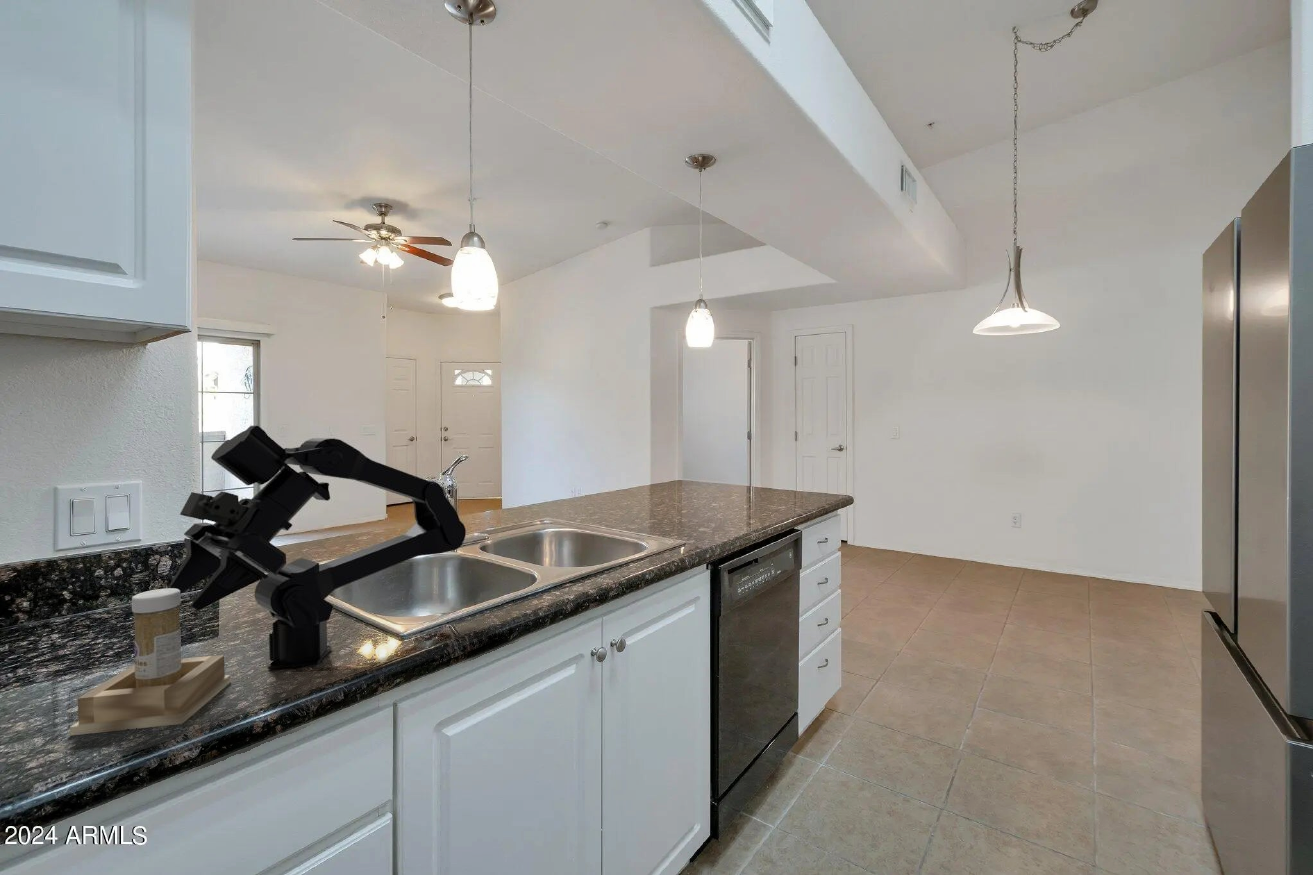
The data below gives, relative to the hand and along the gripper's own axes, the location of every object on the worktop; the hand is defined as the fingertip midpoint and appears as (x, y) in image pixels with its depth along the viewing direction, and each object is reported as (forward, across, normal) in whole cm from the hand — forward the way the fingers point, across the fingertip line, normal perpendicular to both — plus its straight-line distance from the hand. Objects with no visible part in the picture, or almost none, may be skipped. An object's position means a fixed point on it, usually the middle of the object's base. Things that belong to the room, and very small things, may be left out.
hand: (180, 602), depth 72 cm
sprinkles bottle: (+10, 0, +7) cm, 12 cm away
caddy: (+11, 0, +7) cm, 13 cm away
